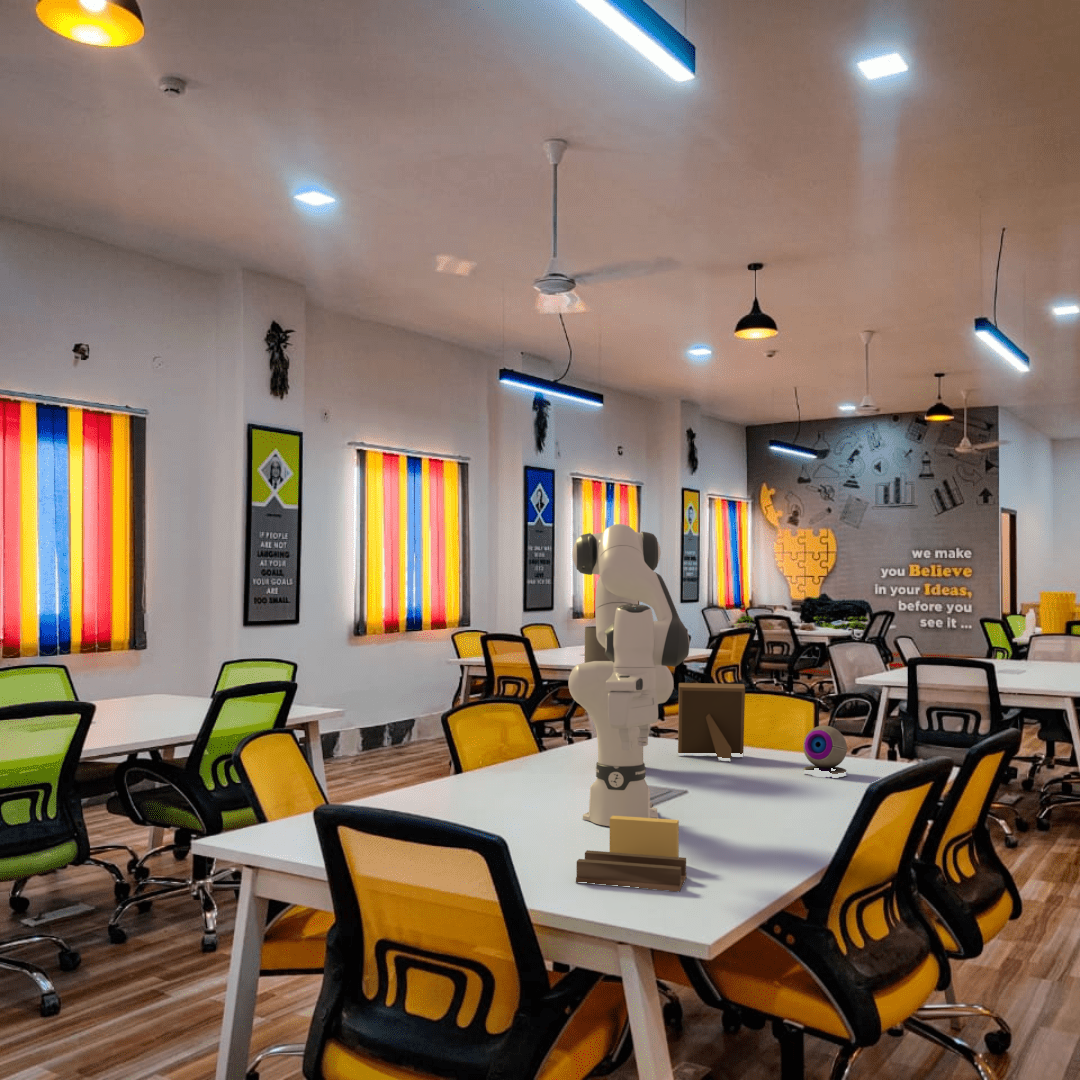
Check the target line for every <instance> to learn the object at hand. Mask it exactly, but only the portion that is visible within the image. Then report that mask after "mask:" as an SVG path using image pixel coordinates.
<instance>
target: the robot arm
mask: <svg viewBox="0 0 1080 1080" xmlns="http://www.w3.org/2000/svg"><path fill="white" fill-rule="evenodd" d="M573 544H574V545H573V547H572V560H573V563H574V565H575V569H576V570H577V571H578V572H579V573H580V574H583V575H589V576H592V575H599V577H598V578H597V579H598V580H597V583H596V589H595V597H594V599H595V600H594V601H595V603H594V610H595V612H594V613H595V614H594V615H595V626H596V637H597V640H598V642H599V643H600V644H601V645H602V646H603V647H604V648H605V655H606V656H607V657H608V658H609V659H610V660H611V661H592V662H587V663H585V662H582V663H578V664H576V665H575V666H574V667H573V668H572V669H571V671H570V674H569V676H568V681H567V682H568V689H569V690H568V691H569V693H570V695H571V698H572V699H573V700H574V702H576V703H577V704H579V705H580V706H581V707H582V708H583V709H584V710H585V711H586V712H587V714H588V715H589V717H590V718H591V720H592V722H593V724H594V727H595V731H596V738H597V739H596V741H597V756H598V757H597V759H598V761H597V762H596V764H595V765H596V766H595V777H596V780H595V781H594V782H593V783H592V784H591V785H590V786H589V787H590V788H589V800H588V801H589V802H588V803H589V805H588V806H589V807H588V812H585V813H583V815H582V820H585V821H589V822H591V823H593V824H596V825H599V826H604V827H605V826H606V827H610V818H611V817H612V816H627V817H642V818H657V819H660V818H659V814H658V809H657V808H656V807H654V803H653V802H651V789H650V788H649V786H648V784H647V782H646V777H647V776H646V769H647V768H646V764H645V762H644V747H647V746H648V745H649V735H650V732H651V725H652V724H655V723H657V722H658V719H659V704H664V703H666V702H668V700H669V698H670V697H671V696H672V694H673V690H674V685H675V684H674V683H675V682H674V677H673V674H672V672H671V670H670V669H669V667H675V668H676V667H677V666H679V665H680V664H682V662H684V661H685V660H686V659H687V658H688V656H689V653H690V637H689V634H688V631H687V628H686V626H685V624H684V622H683V621H682V620H681V617H680V616H679V614H678V611H677V608H676V606H675V604H674V601H673V598H672V597H671V594H670V592H669V590H668V587H667V584H666V583H665V580H664V579H663V577H662V575H661V574H660V573H657V572H656V571H655V570H656V569H657V568H658V564H659V562H660V559H661V546H660V544H659V541H658V537H656V535H655V534H654V533H652V532H648V531H641V532H639V531H638V532H637V531H635V529H633V528H632V527H630V526H629V525H626V524H624V523H623V524H622V523H616V524H613V525H610V526H608V527H607V528H605V529H604V530H603V532H597V533H591V532H589V533H584V534H581V535H579V536H578V537H577V538H576V539H575V543H573ZM640 603H643V604H640ZM645 604H646V605H645ZM647 605H648V606H647ZM652 610H653V611H652ZM653 612H654V615H655V617H656V620H654V617H653ZM638 726H639V727H638Z"/></svg>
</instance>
